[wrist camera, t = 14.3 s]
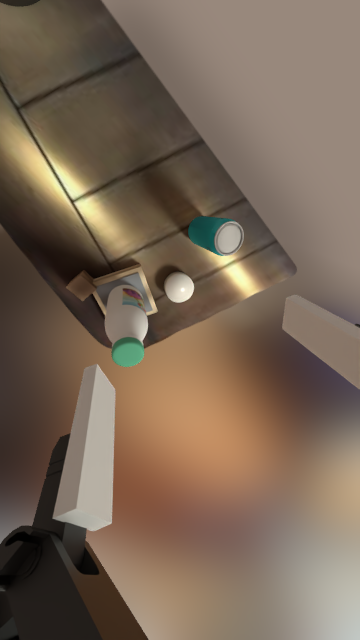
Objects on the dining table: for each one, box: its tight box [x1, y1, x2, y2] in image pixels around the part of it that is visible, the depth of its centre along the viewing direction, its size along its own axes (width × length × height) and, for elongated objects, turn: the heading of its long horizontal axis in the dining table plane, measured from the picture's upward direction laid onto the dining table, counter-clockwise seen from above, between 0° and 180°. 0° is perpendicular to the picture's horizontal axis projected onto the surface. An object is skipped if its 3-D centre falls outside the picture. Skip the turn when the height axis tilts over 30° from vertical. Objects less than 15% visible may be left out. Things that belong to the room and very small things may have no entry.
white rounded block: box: [164, 272, 194, 302], centre depth 47 cm, size 7×7×3 cm
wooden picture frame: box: [93, 264, 158, 316], centre depth 45 cm, size 12×12×3 cm
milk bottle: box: [105, 285, 148, 367], centre depth 35 cm, size 8×8×20 cm
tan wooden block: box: [66, 270, 97, 301], centre depth 40 cm, size 4×4×4 cm
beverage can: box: [188, 216, 244, 256], centre depth 36 cm, size 6×6×15 cm
